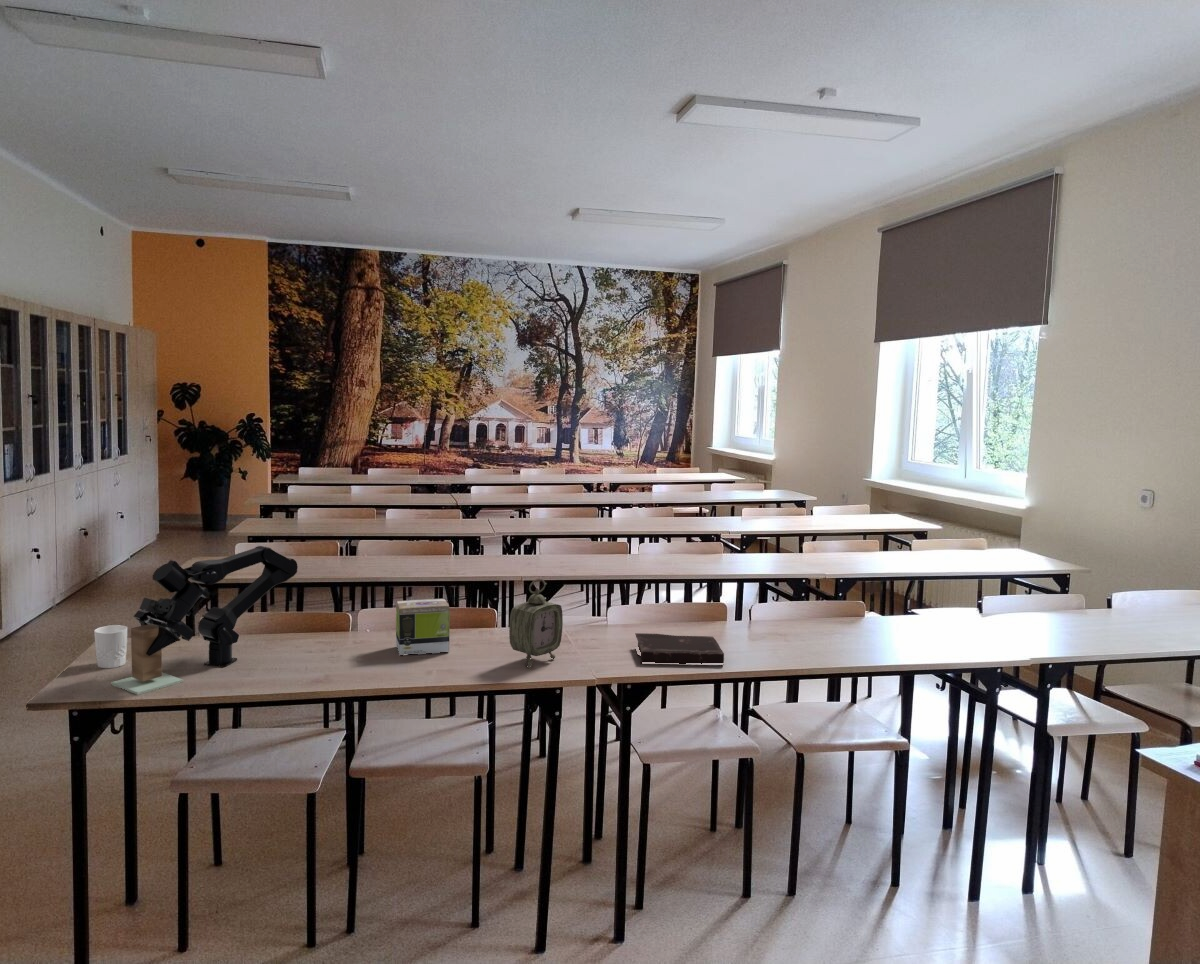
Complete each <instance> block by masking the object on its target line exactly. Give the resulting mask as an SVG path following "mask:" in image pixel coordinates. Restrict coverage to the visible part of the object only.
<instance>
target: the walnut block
mask: <svg viewBox="0 0 1200 964" xmlns="http://www.w3.org/2000/svg"><path fill="white" fill-rule="evenodd" d="M158 632H159V627H158V626H155V625H152V624H148V625H143V626H141V625H139V626H135V627H130V639H131V640H130V642H131V643H130V645H131V649H130V650H131V677H133V678H135V679H138V680H140V681H146V680H150V679H154V678H157V677H161V676H162V672H163V665H162V663H163V662H162V661H163V660H162V659H163V657H162V649H161V650H159V651H157V652H156V653H154V654H152V655H150V656H149V655H147V654H146V653H147V651H148V649H149V648H150V646H151V645H152V643H153V642H154V640H155V639H156V637H157V636H158Z"/></svg>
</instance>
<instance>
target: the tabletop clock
mask: <svg viewBox="0 0 1200 964" xmlns="http://www.w3.org/2000/svg"><path fill="white" fill-rule="evenodd" d="M536 582H542V583H543V586H542V588H541V589H539V588H535V591H533V590H532V586H533V584H535V583H536ZM545 588H546V581H545V580H544V579H542V578H536V579H534V580H533V581H532V582H531V583H530V584H529V588H528V590H529V593H530V594H531V595H530V596H529V598H528V599H527V601H526V602H523V603H520V604H518V605H515V606H514V607H512V609H511V611H510V617H509V626H508V627H509V628H508V629H509V638H508V639H509V644H510V647H511V648H512V650H514V651H516V652H520V653H524V654H526V656H525V658H527V659H528V660H527V659H526V660H527V662H526V664H525V667H526V666H528V667H530V666H531V667H532V662H531V660H530V658H532V656H534V657H538V656H539V657H540V656H543V655H547V654H549V658H550V657H551V658H555V659H556V655H555V654H553V653H552V652H553V651H556V650H557V649H558V648H560V646H561V642H562V635H563V627H564V626H563V625H564V623H563V615H564V614H563V609H562V605H560V604H558V603H553V602H549V601H546V598H545V596H544V595H542V594H541V592H543V591H544V590H545ZM531 667H530V668H531Z"/></svg>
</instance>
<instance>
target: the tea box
mask: <svg viewBox="0 0 1200 964" xmlns="http://www.w3.org/2000/svg"><path fill="white" fill-rule="evenodd" d="M395 604H396V605H395V609H396V612H395V614H396V615H395V616H396V618H395V630H396V631H395V637H396V639H395V643H396V644H395V645H396V648H398V649H397V651H399V652H398V655H399V656H400V655H403V656H405V655H404V654H418V655H427V654H426V653H432V654H441V653H440V652H448V653H450V624H451V623H450V619H451V618H450V611H451V610H450V605H449V604H448V602H447V600H446V599H445V598H427V599H412V600H411V599H410V600H397V601H396V602H395Z"/></svg>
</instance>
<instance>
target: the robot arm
mask: <svg viewBox="0 0 1200 964" xmlns="http://www.w3.org/2000/svg"><path fill="white" fill-rule="evenodd" d="M260 563H261V564H262V565H263V566H264V567H263V570H262V573H261V574H260V575H259V577H257V578H256V579H255V580H253V582H251V583H250V584H249V585H248V586H246V588H245V589H243V590H242V591H241V592H240V593H238V595H237V596H235V597H234V598H233V599H232V600H231V601H229V603H227V604H226V605H225V606H223V607H221V608H220V607H216V606H212V607H211V608H210V609H209V610H208V611H207V612H206V613H204V614H202V615H201V619H200V620H199V621H198V626H197V628H198V633H199V634H200V635H201V636H202V638H203V640H204V641H207V642H209V643H208V660H207V661H205V662H204V663H203V666H210V667H222V668H223V667H225V668H226V667H228V666H230V665H231V664H233V663H234V662H236V661H238V658H237V657H233V644H236V643H238V640H239V637H240V635H239V634H238V633H237V632H236V631H235V630H234V629H235V627H236V624H237V620H238V619H239V618H240V617H241V616H242V615H243V614H244V613H246V611H248V610H249V609H250V608H251V607H252V606H253V605H255V604H256V603H257V602H258V601H259V600H260V599H261V598H262V597H263V596H265V595H266V594H267V593H268V592H269V591H270V590H271V589H272V588H273V587H275V586H277V585H279V584H283V583H286V582H287V581H288V580H290V579H292V578H294V577H295V576H296V574H297V573H298V563H297V561H296V559H294V558H290V557H286V556H284V555H283V554H280V553H279V552H277V551H275V550H273V549H272V548H271V547H269V546H268V547H267V546H263V545H258V546H255V547H254V548H251V549H247V550H245V551H241V552H239V553H238V552H237V553H236V554H233V555H229V556H226V557H224V558H220V559H206V560H198V561H195V562H194V563H192V565H191V566H189V567H185V568H183V567H182V566H181V565H180V564H179V563H178V562H177V561H176V560H172V559H170V560H169V561H168V562H167V563H164V564H162V565H161V566H159V567H158V568H156V569H155V571H154V572H153V573H152V580H153V581H154V582H156V583H157V584H158V585H159V586H161V587H162V588H163V589H164V590H166V591H167V592H168V593H170V594H171V593H173V595H172V596H171V597H170V598H167V597H166V598H158V600H155V599H152V598H148V597H143V598H142V602H141V603H140V606H139V608H138V609H139V610H137V612H136V613H135V614H134V615H133V618H134V619H135V620H137V621H138V623H139V624H140V626H143V625H148V624H152V625H155V626H158V627H159V632H158V636H157V637H156V639H155V640H154V642H153V643H152V645H151V646H150V648H149V649H148V651H147V653H146V654H147V655H149V656H150V655H152V654H154V653H156V652H157V651H159V650H161V651H162V650H163V649H164V648H167V647H168V646H171V645H172V644H175V643H176V642H180V641H181V639H182V640H185V641H188V642H190V641H191V639H192V638H193V637H194V629H192V628H191V627H190V626H189V625H188V624H186V623H185V622H184V621H183V619H184V618H185V617H186V616H188V617H190V615H192V612H191V611H190V610H191V609H192V608H193V607H194V605H195V604H196V603H197V601H198V600H199V599H200V598H201V597H202V598H204V599H209V598H210V593H209V588H208V587H205V586H201V585H200V584H204V585H206V586H212V585H215V584H217V583H218V582H220V581H223V580H224V579H225V578H226V577H227V575H229V574H231V573H234V572H238V571H240V570H243V569H246V568H248V567H251V566H254V565H257V564H260ZM190 580H192V581H193V582H191V581H190ZM198 583H199V584H198ZM180 637H181V639H180Z"/></svg>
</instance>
